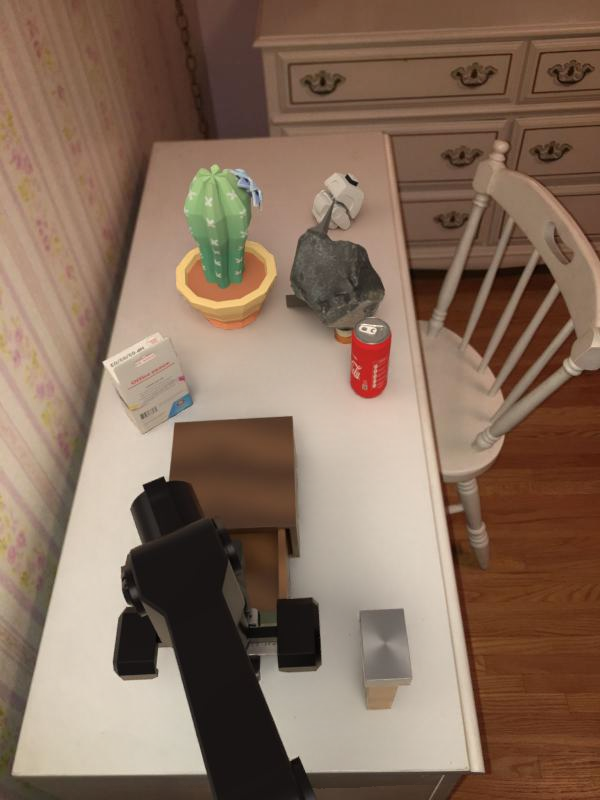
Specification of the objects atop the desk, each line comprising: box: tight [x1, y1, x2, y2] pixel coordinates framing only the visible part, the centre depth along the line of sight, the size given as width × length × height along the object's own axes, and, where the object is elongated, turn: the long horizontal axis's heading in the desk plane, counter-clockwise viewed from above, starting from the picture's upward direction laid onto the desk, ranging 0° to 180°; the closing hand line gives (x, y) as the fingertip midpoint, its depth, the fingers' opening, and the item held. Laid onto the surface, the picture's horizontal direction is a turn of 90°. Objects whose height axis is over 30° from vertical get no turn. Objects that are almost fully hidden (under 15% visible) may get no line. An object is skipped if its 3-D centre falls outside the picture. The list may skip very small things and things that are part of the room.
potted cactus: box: [175, 164, 278, 331], centre depth 93 cm, size 15×15×25 cm
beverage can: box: [349, 316, 393, 400], centre depth 88 cm, size 5×5×12 cm
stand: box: [364, 686, 399, 711], centre depth 64 cm, size 5×2×13 cm, turn 2°
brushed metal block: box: [358, 607, 414, 689], centre depth 58 cm, size 6×4×3 cm, turn 2°
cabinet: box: [168, 415, 301, 559], centre depth 79 cm, size 15×15×9 cm
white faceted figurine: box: [311, 172, 365, 230], centre depth 111 cm, size 6×7×10 cm
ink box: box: [102, 331, 193, 434], centre depth 86 cm, size 8×5×15 cm, turn 127°
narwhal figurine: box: [285, 197, 386, 345], centre depth 92 cm, size 14×15×18 cm
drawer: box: [228, 529, 291, 682], centre depth 71 cm, size 18×13×7 cm
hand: (231, 661), depth 66 cm, fingers closed
